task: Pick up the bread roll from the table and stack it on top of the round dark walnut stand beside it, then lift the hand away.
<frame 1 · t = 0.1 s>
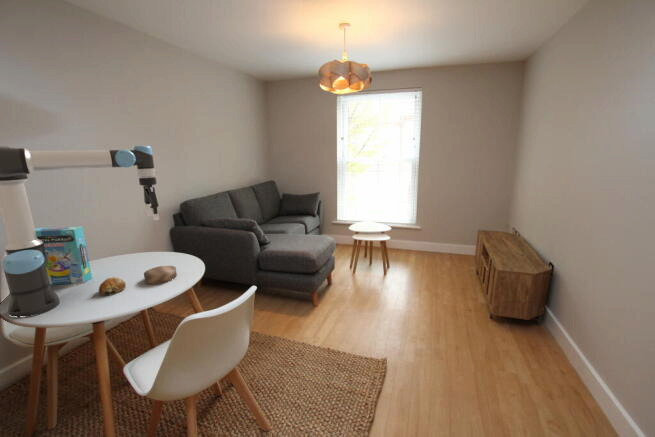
hand: (153, 218, 159), 28 cm above the table, tool pointing down, fingers open, 13 cm apart
bread roll: (113, 291, 139), on the table
walnut stand: (161, 278, 152), on the table
game box: (66, 282, 150), on the table
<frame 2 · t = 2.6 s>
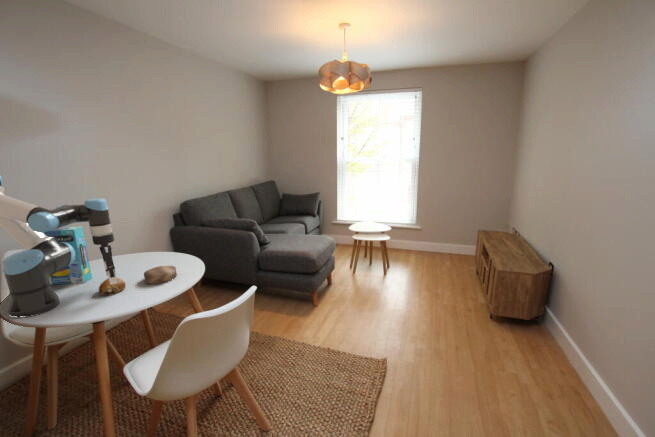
hand: (112, 279, 138), 6 cm above the table, tool pointing down, fingers open, 13 cm apart
nothing on the table moved.
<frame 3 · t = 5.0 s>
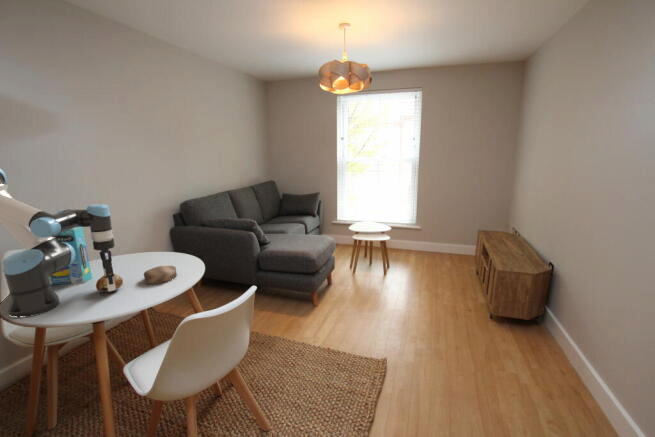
hand: (110, 286, 139), 2 cm above the table, tool pointing down, fingers closed on bread roll, 10 cm apart
bread roll: (110, 287, 139), point 2 cm above the table, touching gripper
everything else where it was.
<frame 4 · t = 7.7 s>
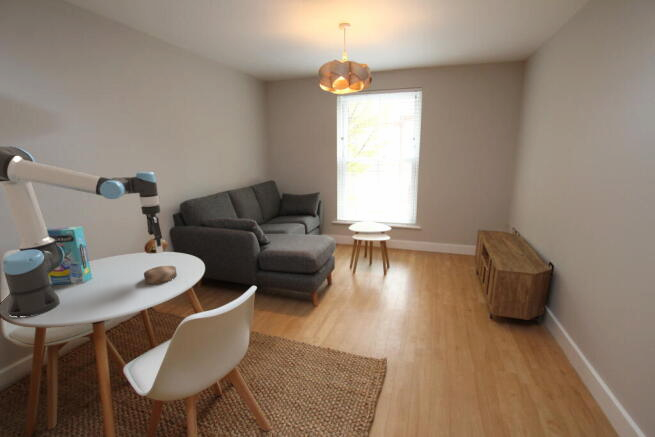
hand: (157, 249, 149), 15 cm above the table, tool pointing down, fingers closed on bread roll, 10 cm apart
bread roll: (156, 251, 148), point 14 cm above the table, touching gripper
everything else where it was.
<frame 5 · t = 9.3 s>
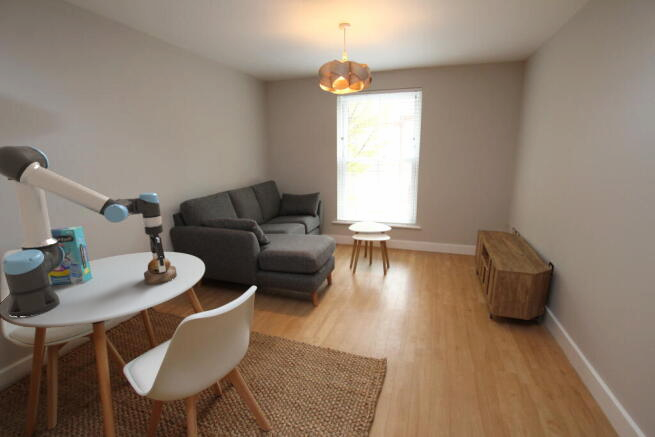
hand: (159, 268, 151), 5 cm above the table, tool pointing down, fingers closed on bread roll, 10 cm apart
bread roll: (159, 269, 151), point 5 cm above the table, touching gripper
everything else where it was.
when the fingers open (5 cm above the table, at t = 10.4 s): bread roll stays where it is, resting on walnut stand.
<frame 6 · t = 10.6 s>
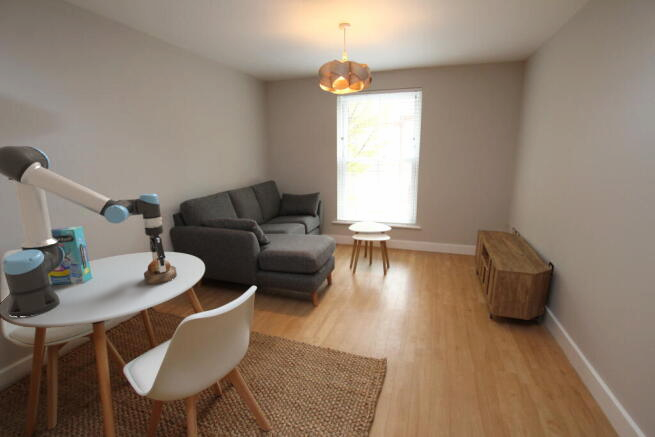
hand: (159, 267, 151), 6 cm above the table, tool pointing down, fingers open, 13 cm apart
bread roll: (159, 271, 151), point 4 cm above the table, touching walnut stand
everything else where it was.
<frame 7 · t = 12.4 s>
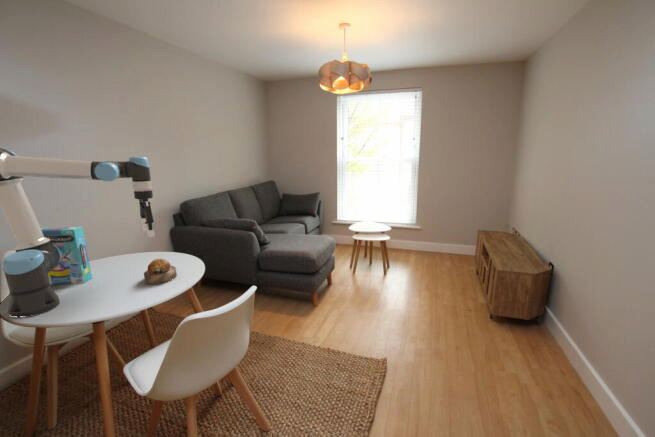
hand: (148, 233, 148), 23 cm above the table, tool pointing down, fingers open, 13 cm apart
nothing on the table moved.
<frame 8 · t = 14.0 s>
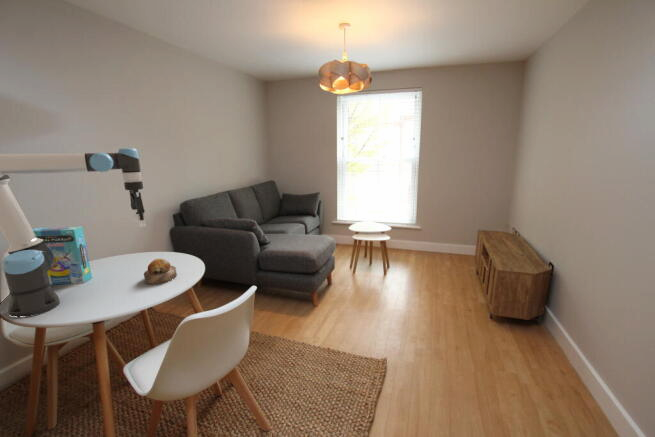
hand: (139, 224, 151), 27 cm above the table, tool pointing down, fingers open, 13 cm apart
nothing on the table moved.
at the end: bread roll inside the target area on the walnut stand (0.4 cm from its centre), point 3.8 cm above the walnut stand's base; the gripper is holding nothing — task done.
